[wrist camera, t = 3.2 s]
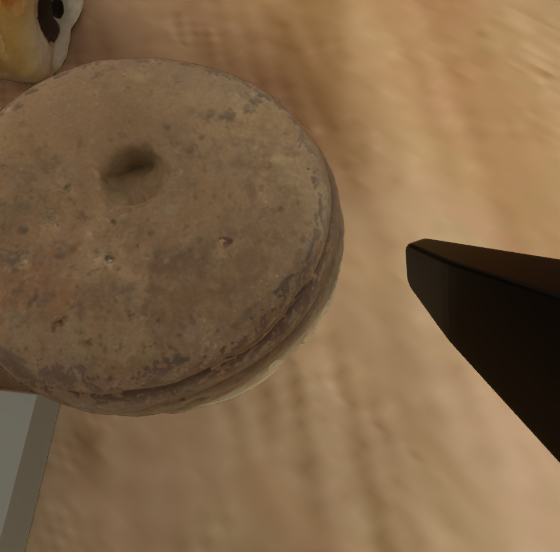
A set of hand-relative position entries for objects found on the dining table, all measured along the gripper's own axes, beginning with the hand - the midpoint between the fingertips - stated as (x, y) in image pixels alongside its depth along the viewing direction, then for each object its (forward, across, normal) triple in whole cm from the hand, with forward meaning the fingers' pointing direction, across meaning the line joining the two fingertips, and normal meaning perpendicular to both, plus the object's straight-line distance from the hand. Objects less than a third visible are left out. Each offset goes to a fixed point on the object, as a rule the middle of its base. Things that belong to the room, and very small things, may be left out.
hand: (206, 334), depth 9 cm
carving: (+8, 0, +5) cm, 10 cm away
